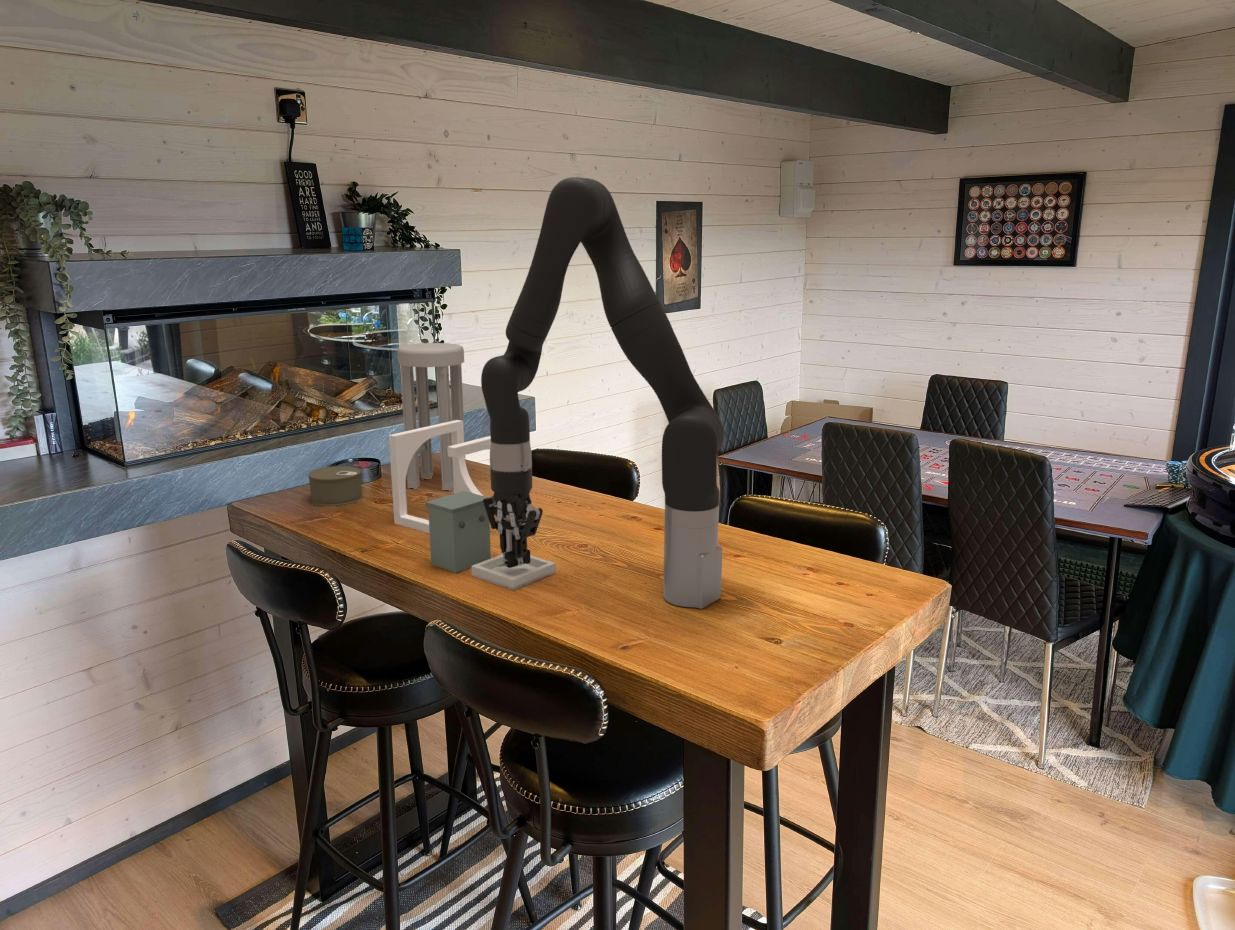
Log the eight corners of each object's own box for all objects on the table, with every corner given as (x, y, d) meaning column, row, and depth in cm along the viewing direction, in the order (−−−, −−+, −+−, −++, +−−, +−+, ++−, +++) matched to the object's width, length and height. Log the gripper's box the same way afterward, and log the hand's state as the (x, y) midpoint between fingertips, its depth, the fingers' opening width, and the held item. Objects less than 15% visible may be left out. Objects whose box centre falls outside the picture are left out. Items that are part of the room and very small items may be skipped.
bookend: (523, 517, 198) (521, 430, 193) (458, 542, 182) (454, 448, 177) (460, 502, 209) (457, 419, 204) (394, 523, 194) (388, 435, 189)
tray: (555, 573, 165) (555, 563, 165) (513, 590, 157) (513, 580, 157) (514, 559, 172) (514, 550, 172) (471, 575, 164) (471, 565, 163)
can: (326, 491, 218) (324, 464, 216) (371, 494, 216) (369, 467, 214) (300, 505, 206) (298, 477, 205) (348, 508, 204) (345, 480, 203)
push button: (506, 573, 160) (504, 520, 158) (490, 565, 164) (488, 514, 162) (536, 564, 164) (534, 513, 162) (520, 557, 168) (518, 507, 166)
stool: (396, 490, 218) (387, 349, 209) (420, 474, 233) (412, 342, 224) (456, 494, 216) (449, 351, 207) (476, 477, 230) (471, 343, 222)
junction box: (493, 559, 172) (490, 498, 169) (455, 573, 165) (452, 509, 162) (466, 551, 177) (464, 490, 174) (429, 564, 170) (425, 501, 166)
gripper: (469, 462, 161) (473, 551, 165) (523, 475, 152) (526, 569, 157) (499, 454, 166) (502, 541, 171) (553, 466, 158) (555, 557, 162)
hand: (513, 554), depth 164 cm, fingers closed on push button, 3 cm apart
